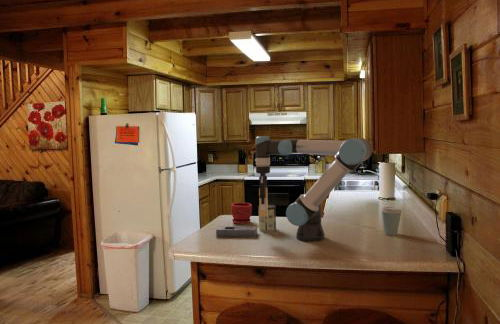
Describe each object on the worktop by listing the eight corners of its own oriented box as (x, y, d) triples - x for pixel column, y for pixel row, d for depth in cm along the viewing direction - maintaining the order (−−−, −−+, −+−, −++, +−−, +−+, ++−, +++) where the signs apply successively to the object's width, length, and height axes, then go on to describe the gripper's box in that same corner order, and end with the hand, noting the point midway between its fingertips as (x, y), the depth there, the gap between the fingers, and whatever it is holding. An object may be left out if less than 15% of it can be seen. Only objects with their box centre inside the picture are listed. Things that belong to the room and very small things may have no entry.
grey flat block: (257, 233, 241) (257, 226, 241) (255, 237, 233) (255, 230, 233) (219, 233, 244) (219, 226, 244) (216, 236, 236) (216, 229, 236)
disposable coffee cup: (386, 230, 240) (387, 204, 239) (405, 233, 232) (405, 207, 231) (377, 234, 233) (377, 207, 231) (396, 237, 225) (396, 210, 224)
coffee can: (266, 226, 256) (266, 203, 255) (279, 229, 249) (279, 205, 248) (255, 230, 249) (254, 206, 248) (268, 232, 242) (267, 208, 241)
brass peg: (267, 215, 228) (267, 187, 227) (267, 216, 224) (266, 188, 223) (260, 215, 229) (259, 187, 227) (259, 216, 225) (259, 188, 223)
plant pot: (243, 225, 260) (243, 206, 259) (227, 223, 268) (227, 204, 267) (256, 221, 271) (256, 203, 270) (240, 219, 279) (239, 201, 278)
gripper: (257, 164, 233) (258, 206, 235) (253, 167, 216) (254, 212, 218) (271, 164, 232) (271, 206, 234) (268, 167, 215) (269, 212, 217)
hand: (263, 209), depth 226 cm, fingers closed on brass peg, 4 cm apart
